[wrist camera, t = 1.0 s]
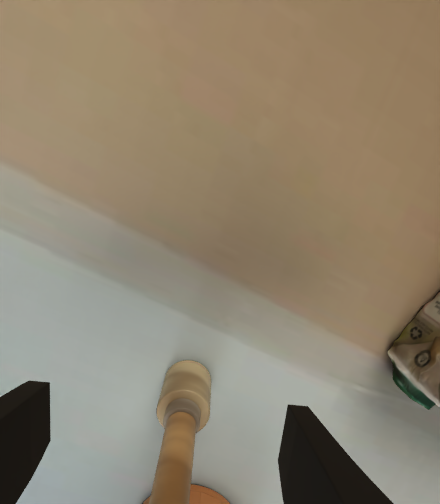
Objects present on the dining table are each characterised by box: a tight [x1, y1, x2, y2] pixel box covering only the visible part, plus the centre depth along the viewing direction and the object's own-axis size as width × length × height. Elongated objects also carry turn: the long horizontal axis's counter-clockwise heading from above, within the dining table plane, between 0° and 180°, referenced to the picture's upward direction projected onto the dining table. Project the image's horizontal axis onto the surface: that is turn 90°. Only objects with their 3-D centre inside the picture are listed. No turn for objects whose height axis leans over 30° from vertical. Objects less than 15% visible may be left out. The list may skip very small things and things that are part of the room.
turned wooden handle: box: [149, 360, 211, 504], centre depth 16 cm, size 3×3×10 cm
